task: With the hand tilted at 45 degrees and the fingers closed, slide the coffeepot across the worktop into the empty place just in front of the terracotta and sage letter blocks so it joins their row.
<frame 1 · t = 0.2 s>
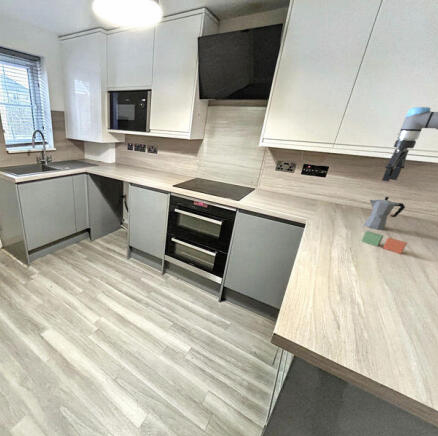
hand: (389, 180, 130), 27 cm above the worktop, tool pointing down, fingers open, 13 cm apart
coffeepot: (376, 227, 136), on the worktop
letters: (380, 246, 111), on the worktop
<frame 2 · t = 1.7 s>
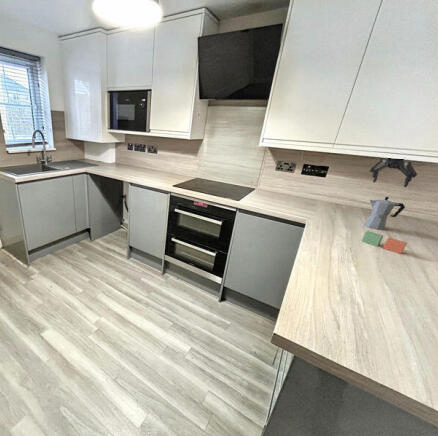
hand: (390, 183, 137), 24 cm above the worktop, tool tilted 45°, fingers open, 13 cm apart
nothing on the worktop moved.
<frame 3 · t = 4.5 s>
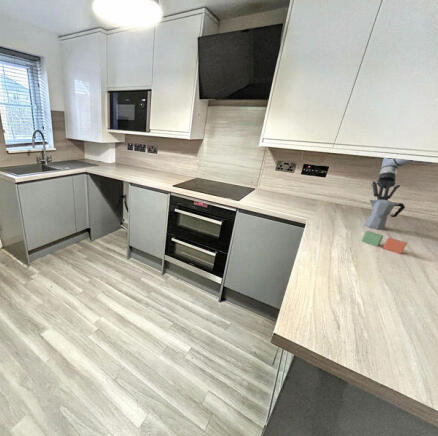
hand: (380, 206, 142), 10 cm above the worktop, tool tilted 45°, fingers closed
nothing on the worktop moved.
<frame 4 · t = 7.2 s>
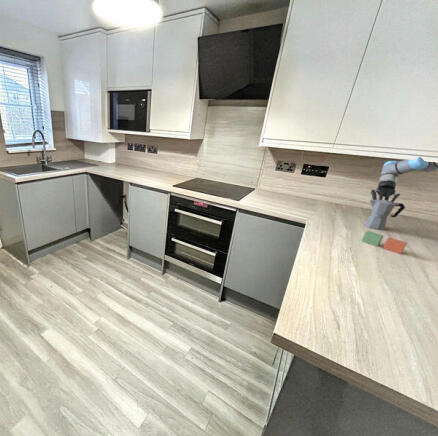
hand: (379, 215, 136), 6 cm above the worktop, tool tilted 45°, fingers closed
coffeepot: (376, 227, 135), on the worktop, touching gripper
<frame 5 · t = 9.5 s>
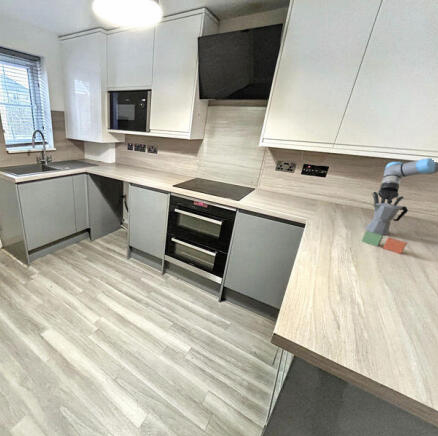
hand: (381, 219, 130), 6 cm above the worktop, tool tilted 45°, fingers closed
coffeepot: (378, 232, 129), on the worktop, touching gripper
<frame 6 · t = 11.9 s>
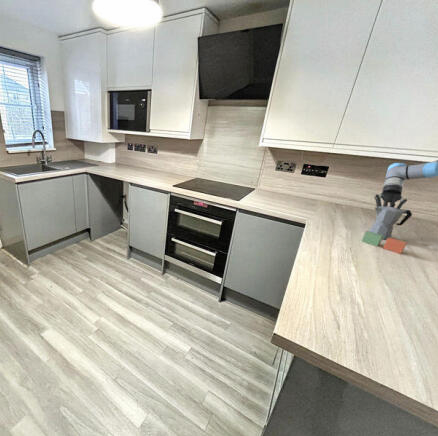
hand: (384, 223, 123), 6 cm above the worktop, tool tilted 45°, fingers closed
coffeepot: (380, 237, 122), on the worktop, touching gripper
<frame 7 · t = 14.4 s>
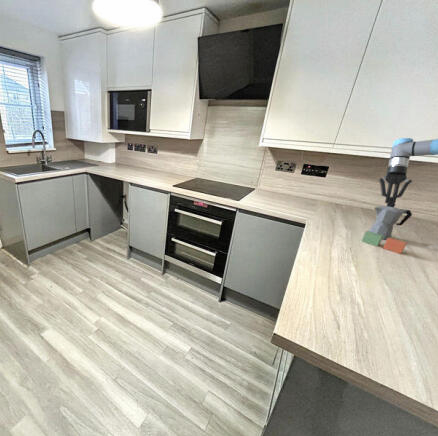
hand: (388, 209, 128), 12 cm above the worktop, tool tilted 25°, fingers closed
coffeepot: (380, 236, 122), on the worktop
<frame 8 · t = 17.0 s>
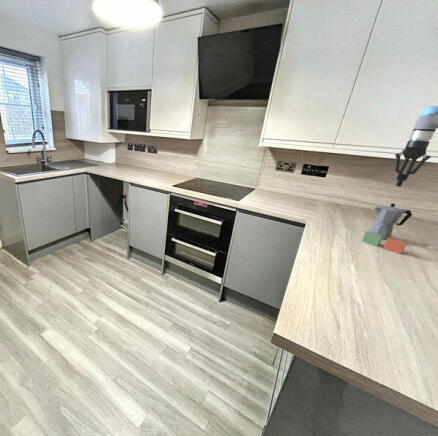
hand: (398, 186, 127), 24 cm above the worktop, tool pointing down, fingers closed
nothing on the worktop moved.
at the end: coffeepot inside the target area on the worktop beside the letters (5.8 cm from its centre), on the worktop; coffeepot tilted 0°; coffeepot moved 17.6 cm from its start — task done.
